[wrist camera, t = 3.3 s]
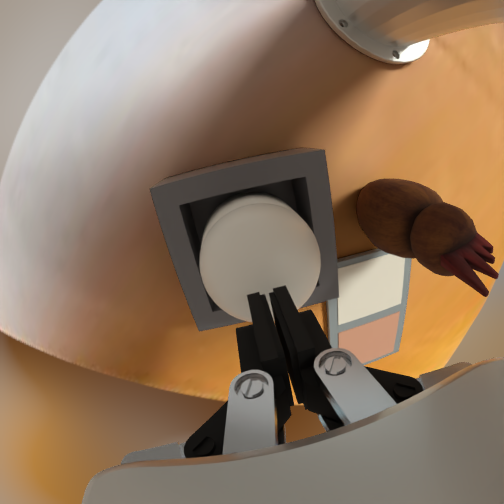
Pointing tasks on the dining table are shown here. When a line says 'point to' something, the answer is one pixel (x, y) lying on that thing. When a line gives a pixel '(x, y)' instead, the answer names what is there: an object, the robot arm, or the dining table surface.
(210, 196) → the dome housing
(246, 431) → the robot arm
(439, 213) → the wooden figurine
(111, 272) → the dining table surface
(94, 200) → the dining table surface
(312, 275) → the dome
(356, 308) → the grey flat tray
